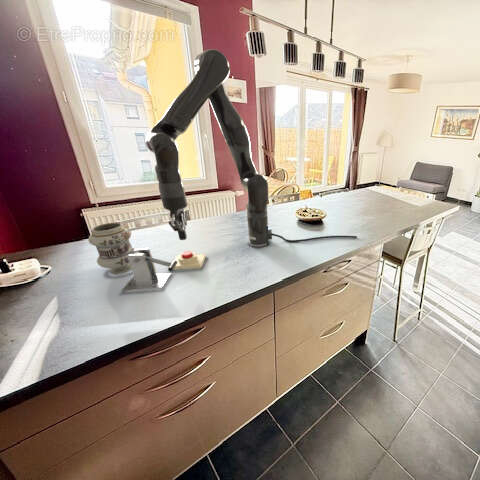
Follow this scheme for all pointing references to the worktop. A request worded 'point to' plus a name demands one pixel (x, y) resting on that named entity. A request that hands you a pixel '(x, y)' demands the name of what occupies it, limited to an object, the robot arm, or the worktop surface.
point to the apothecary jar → (112, 246)
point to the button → (187, 254)
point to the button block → (190, 261)
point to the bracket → (144, 272)
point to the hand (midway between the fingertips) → (183, 239)
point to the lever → (159, 261)
